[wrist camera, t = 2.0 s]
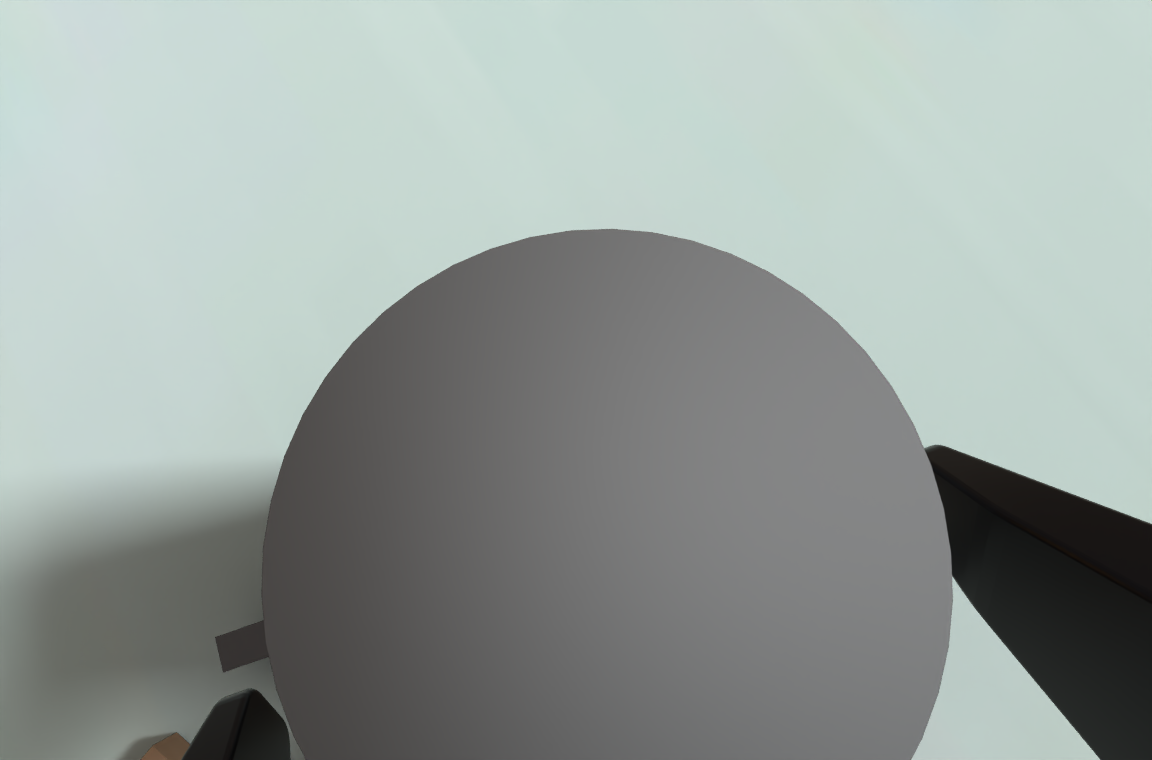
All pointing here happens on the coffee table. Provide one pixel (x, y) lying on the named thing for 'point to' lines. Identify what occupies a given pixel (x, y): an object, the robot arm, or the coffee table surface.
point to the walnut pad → (168, 749)
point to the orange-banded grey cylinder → (606, 523)
